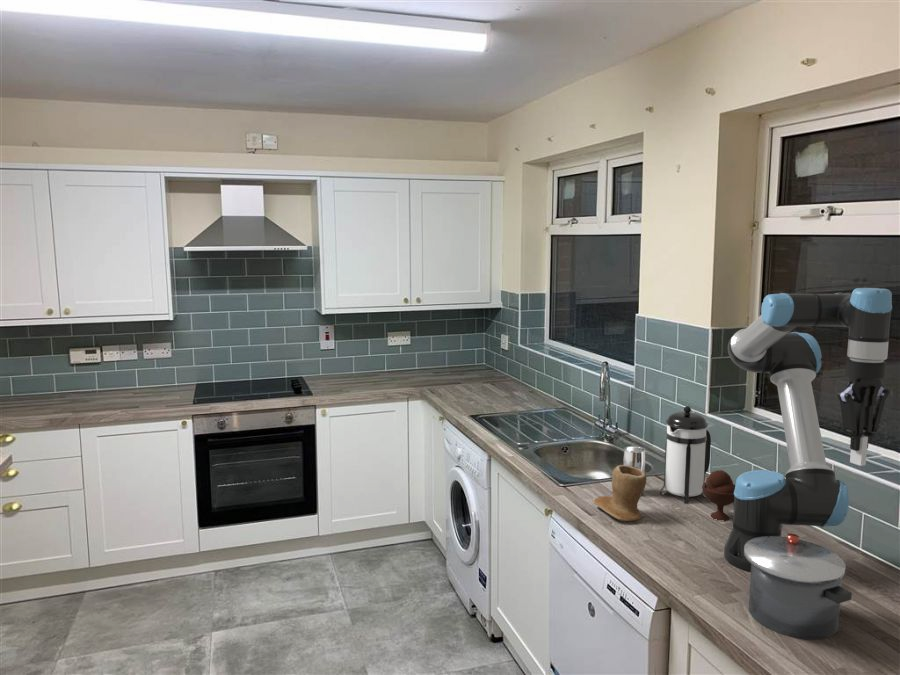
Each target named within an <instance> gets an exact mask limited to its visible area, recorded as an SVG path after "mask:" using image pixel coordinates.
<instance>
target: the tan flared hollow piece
mask: <svg viewBox="0 0 900 675" xmlns="http://www.w3.org/2000/svg"><path fill="white" fill-rule="evenodd" d="M611 477H612V479H611V488H612V496H610V495H604V496H603V495H602V496H601V495H600V496H598V497H596V498H594V499H593V501H592V502H593V504H594V505H595V506H597V507H598V508H599V509H601V510H602V511H604V512H605V513H606V514H608V515H609V516H610V517H612V518H614V519H617V520H618V521H620V522H621V521H622V522H634V521H638V520H640V519H642V518H643V514H642V512H641V511H640V510H639V509H638V503H639V500H640V498H641V497H642V495H643V494H642V493H644V491H645V489H646V485H647V474H646V473H645V471H644V472H643V471H641V470H639V469H637V468H634V467H630V466H626V465H624V464H619V465H617V466H616V467H614V469H613V472H612V476H611Z"/></svg>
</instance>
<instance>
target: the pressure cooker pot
mask: <svg viewBox="0 0 900 675" xmlns="http://www.w3.org/2000/svg"><path fill="white" fill-rule="evenodd" d="M838 556H839V555H838ZM839 557H840V558H841V559H842V556H839ZM749 580H750V581H749V595H748V612H749V613H750V614H749V615H750V616H752V618H753V619H754V620H755V621H756V622H757V623H758V624H760V625H762V626H763V627H765V628H766V629H769V630H771V631H772V632H776V633H778V634H781V635H784V636H787V637H792V638H796V639H801V640H821V639H828V638H830V637H832V636H833V635H835V634H836V633H837V632H838V630H839V624H840V623H839V622H840V612H841V611H840V608H841V604H842V603H845V602H849V601H851V600H852V596H853V595H852V594H853V592H852V591H849V590H848V589H846V588H844V587H843V577H842V578H841V579H839V580H837V581H834V582H829V583H805V582H798V581H793V580H788V579H784V578H781V577H777V576H775V575H772V574H769V573H767V572H765V571H763V570H761V569H759V568H757V567H755V566H754V565H753V564H751V571H750V579H749Z"/></svg>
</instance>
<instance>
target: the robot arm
mask: <svg viewBox="0 0 900 675" xmlns="http://www.w3.org/2000/svg"><path fill="white" fill-rule="evenodd" d="M892 298H893V294H892V291H891V290H890V289H887V288H879V287H857V288H855V289H853V291H852V292H835V293H785V292H780V293H771V294H767V295H766V296H764V298H763V302H762V303H761V307H760V315H759V316H758V317H757V318H756V319H755V320H753V321H752V323H750V324H749V325H748V326H747V327H746V328H742V329H739V330H737V331H736V332H735V333H734V334H733V335H732V336H731V337H730V339H729V340H728V343H727V353H728V356H729V358H730V359H731V361H732V362H733V364H735V365H736V366H737V367H739V368H740V369H742V370H744V371H747V372H751V373H754V374H755V373H756V374H758V373H759V374H768V375H769V380H770V382H771V383H772V384H774V385H775V386H776V387H777V388H776V389H777V392H778V400H779V405H780V413H781V416H782V417H781V419H782V424H783V430H784V437H785V442H786V443H785V444H786V448H787V454H788V462H789V469H788V470H787V471H786V472H785V475H784V474H782V473H780V472H777V471H775V470H769V469H768V470H767V469H754V470H750V471H746V472H742V473H741V474H740V475H738V477H737V478H736V479H735V480H736V481H735V490H734V503H733V516H732V517H733V518H732V528H731V531H730V534H729V536H728V537H727V540H726V542H725V544H724V548H723V550H724V551H723V552H724V553H723V556H724V559H725V560H726V561H727V562H728V563H730V565H732V566H734V567H736V568H739V569H742V570H745V571H748V572H751V563H750V562H749V561H748V560H747V559H746V557H745V555H744V546H745V544H746V543H747V542H748V541H749V540H751V539H754V538H758V537H765V536H778V537H782V532H783V531H782V530H783V526H784V525H785V526H787V525H788V526H805V527H806V526H808V527H809V526H810V527H820V528H824V527H837V526H841V524H842V523H843V522H844V521H845V519H846V517H847V515H848V512H849V508H850V507H849V506H850V493H849V489H848V486H847V485H846V483H845V482H844V480H841V479H837V478H836V473H835V470H833V469H832V468H831V467H829V466H828V465H827V461H826V456H825V450H824V449H825V448H824V444H823V440H822V438H823V437H822V434H821V429H820V428H821V427H820V424H819V423H820V422H819V416H818V413H817V412H818V411H817V407H816V406H817V405H816V400H815V396H814V391H813V385H812V382H813V380H815V378H816V377H817V373H819V371H820V369H821V368H822V360H821V359H822V358H823V357H822V352H821V347H820V345H819V342H818V341H817V339H816V338H815V337H814V336H813V335H811V334H810V333H805V332H797V331H793V330H794V329H796V328H797V327H843V328H848V336H847V338H848V342H847V352H846V356H847V357H848V358H846V359H847V360H846V361H845V375H846V376H847V377H848V381H847V383H846V389H844V390H843V391H838V392H837V398H838V400H839V403H840V412H841V413H840V414H841V422H842V429H843V432H844V433H845V434H848V435H849V436H850V444H849V449H850V456H849V458H850V459H849V463H851V464H854V465H856V466H860V467H864V466H866V464H867V453H868V452H867V451H868V449H869V443H870V442H869V441H870V437H871V438H873V437H874V436H875V433H877V432H878V431H879V426H880V422H881V417H882V415H883V410H884V406H885V405H886V404H885V403H886V401H887V400H886V399H887V398H888V396H889V394H890V390H889V389H887V388H884V387H883V385H882V384H883V382H882V381H881V380H883V379H886V373H887V363H886V361H885V360H887V359H888V352H889V342H890V341H889V337H890V328H891V317H892V310H893V305H892V302H893V301H892V300H893V299H892Z"/></svg>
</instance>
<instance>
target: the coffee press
mask: <svg viewBox="0 0 900 675" xmlns="http://www.w3.org/2000/svg"><path fill="white" fill-rule="evenodd" d="M691 411H692V408H691V407H690V406H688V405H687V406H685V407H683V411H677V412H673V413H672V414H670V415H669V416H668V417H667V419H666V420H665V424H666V431H665V445H664V446H665V449H664V450H665V451H664V472H663V474H664V475H663V486H662V487H661V488H660V489H659V493H660V494H661V493H662V491H663V489H664V488H665V490H664V495H665V494H666V493H670V494H672V495H675V496H679V497H683V504H690V497H697V496H699V495H701V496H702V497H703V495H704V493H703V489H702V486H703V483H705V482H706V481H705V478H706V473H707V472H708V471H709V468H710V464H711V463H710V461H711V451H712V450H711V445H712V439H711V438H712V436H711V433H710V431H709V430H707V429H708V427H709V423H708V422H707V420H706V418H705V417H704V416H703V415H701V414H699V413H695V412H691Z"/></svg>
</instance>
